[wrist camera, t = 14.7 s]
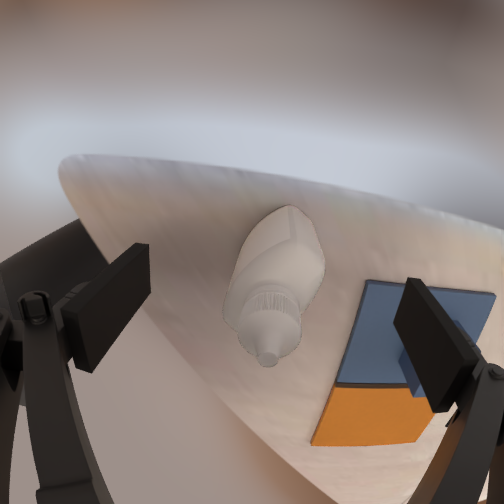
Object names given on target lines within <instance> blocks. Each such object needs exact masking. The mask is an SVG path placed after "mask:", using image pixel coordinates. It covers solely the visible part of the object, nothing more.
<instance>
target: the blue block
mask: <svg viewBox="0 0 504 504" xmlns="http://www.w3.org/2000/svg"><path fill="white" fill-rule="evenodd" d="M452 321H453V322H454V323H455V325H456V326H457V327H459V328H461V329H462V330H463V331H464V332H466V330H465V329H464V328H463V326H462V325H461V324H460V322H459V321H456V320H452ZM466 333H467V332H466ZM467 335H468V336H469V334H468V333H467ZM469 337H470V336H469ZM470 339H471V342H473V343H474V344H475V342H474V341H473V340H472V338H471V337H470ZM475 347H477V349H478V350H479V352H480V353H481V351H480V349H479V348H478V346H477V345H476V344H475ZM398 362H399V365H400V367H401V370H402V372H403V374H404V377H405V379H406V382H407V384H408V387H409V389H410V392H411V394H412V397H413V398H419V397H426V395H425V393H424V391H423V388H422V386H421V383H420V381H419V379H418V377H417V374H416V372H415V370H414V367H413V365H412V363H411V361H410V359H409V356H408V354H407V352H406V350H405V348H404V349H403V352H402V354H401V356H400V359H399V361H398Z"/></svg>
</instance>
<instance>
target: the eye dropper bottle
mask: <svg viewBox="0 0 504 504" xmlns="http://www.w3.org/2000/svg"><path fill="white" fill-rule="evenodd" d="M324 274H325V260H324V256H323V252H322V249H321V246H320V243H319V240H318V237H317V234H316V231H315V229H314V226H313V224H312V222H311V220H310V219H309V218H308V217H307V216H306V215H305V214H303V213H302V212H301V211H300V210H299V209H298V208H296V207H295V206H292V205H286V206H284V207H281V208H279V209H277V210H275V211H274V212H272V213H270V214H269V215H268V216H266V217H265V218H264V219H262V220H261V221H260V222H259V223H258V224H257V225H256V226H255V227H254V228H253V230H252V231H251V232H250V234H249V235H248V237H247V238H246V240H245V242H244V244H243V246H242V248H241V251H240V253H239V256H238V260H237V263H236V266H235V269H234V272H233V275H232V278H231V281H230V285H229V288H228V291H227V294H226V298H225V301H224V305H223V312H222V313H223V318H224V320H225V322H226V323H227V324H228V325H229V326H230V327H231V328H233V329H234V330H235V331H237V333H238V339H239V341H240V344H241V346H243V348H244V349H245V350H246V351H247V352H249V353H250V354H252V355H254V356H256V357H257V359H258V363H259V364H260V365H261V366H263V367H273V366H275V365H276V364H277V363H278V360H279V358H281V357H284V356H286V355H289V354H290V353H291V352H293V350H295V349H296V348H297V346H298V345H299V343H300V340H301V337H302V329H301V317H300V315H301V314H302V313H303V312H304V311H305V310H306V309H307V307H308V306H309V305H310V303H311V302H312V300H313V299H314V297H315V295H316V293H317V291H318V289H319V287H320V285H321V283H322V280H323V277H324Z"/></svg>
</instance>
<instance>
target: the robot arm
mask: <svg viewBox="0 0 504 504" xmlns="http://www.w3.org/2000/svg"><path fill="white" fill-rule="evenodd" d="M150 293H151V285H150V261H149V244H142V243H135V244H133V245H132V246H131V247H130V248H128V249H127V250H126V251H125V252H124V253H123V254H121V255H120V256H119V257H118V258H117V259H115V260H114V261H113V262H112V263H111V264H110V265H108V266H107V267H106V268H105V269H104V270H103V271H101V272H100V273H99V274H98V275H97V276H96V277H95V278H93V279H92V280H91V281H90V282H83V283H81V284H79V285H77V286H75V287H74V288H73V289H72V290H71V291H70V293H67V294H66V295H65V296H64V297H63V298H62V299H61V300H60V301H58V302H57V303H56V304H55V305H54V306H53V307H52V305H51V300H50V296H49V294H48V293H46V292H45V291H32V292H28V293H26V294H24V295H22V296H21V297H20V298H19V300H18V302H17V303H18V307H19V310H20V314H21V317H22V320H11V317H10V314H9V312H8V310H7V309H5V308H0V504H9V484H10V468H11V458H12V448H13V441H14V433H15V427H16V420H17V414H18V409H19V403H20V398H21V393H22V389H23V384H24V390H25V401H26V411H27V419H28V426H29V433H30V439H31V445H32V451H33V456H34V461H35V466H36V470H37V474H38V479H39V483H40V489H38V490H36V500H37V504H114V502H113V500H112V498H111V495H110V493H109V491H108V489H107V486H106V484H105V481H104V479H103V477H102V474H101V472H100V469H99V466H98V464H97V461H96V459H95V456H94V453H93V450H92V448H91V445H90V442H89V439H88V436H87V433H86V429H85V426H84V423H83V420H82V416H81V413H80V410H79V406H78V402H77V398H76V395H75V391H74V387H73V383H72V378H71V374H70V370H69V367H68V362H69V360H70V359H71V358H72V357H73V360H74V364H75V367H76V368H77V369H80V370H83V371H86V372H89V373H92V372H93V371H94V369H95V368H96V367H97V365H98V364H99V362H100V361H101V359H102V358H103V357H104V355H105V354H106V353H107V351H108V350H109V348H110V347H111V346H112V344H113V343H114V342H115V340H116V339H117V337H118V336H119V335H120V333H121V332H122V331H123V329H124V328H125V326H126V325H127V324H128V322H129V321H130V320H131V318H132V317H133V316H134V314H135V313H136V312H137V310H138V309H139V308H140V306H141V305H142V304H143V302H144V301H145V300H146V298H147V297H148V296H149V294H150ZM393 325H394V327H395V329H396V331H397V333H398V335H399V337H400V339H401V341H402V343H403V346H404V348H405V350H406V352H407V354H408V356H409V359H410V361H411V363H412V365H413V367H414V370H415V372H416V374H417V377H418V379H419V381H420V383H421V386H422V388H423V391H424V393H425V395H426V398H427V400H428V403H429V405H430V408H431V410H432V413H442V412H448V411H449V409H450V408H451V406H452V405H453V403H454V402H456V405H457V407H458V408H457V410H456V411H455V413H454V414H453V416H452V417H451V419H450V420H449V421H448V423H447V424H446V425H445V427H448V428H447V431H446V433H445V435H444V437H443V439H442V441H441V443H440V446H439V448H438V450H437V452H436V454H435V456H434V458H433V459H432V461H431V463H430V465H429V467H428V469H427V471H426V473H425V474H424V476H423V478H422V480H421V481H420V483H419V485H418V487H417V488H416V490H415V492H414V493H413V495H412V497H411V498H410V500H409V501H408V503H407V504H477V502H478V500H479V497H480V494H481V492H482V489H483V486H484V483H485V480H486V477H487V474H488V471H489V483H488V493H487V502H486V504H504V369H503V368H501V367H500V366H498V365H496V364H492V363H487V362H486V360H485V359H484V357H483V356H482V355H481V353H480V352H479V350H478V349H477V347H475V344H474V343H473V342H471V339H470V337H469V336H468V335H467V333H466V332H464V331H463V330H462V329H461V328H459V327H457V326H456V325H455V323H454V322H453V321H452V319H451V318H450V316H449V315H448V314H447V312H446V311H445V310H444V309H443V307H442V306H441V305H440V303H439V302H438V301H437V299H436V298H435V297H434V296H433V294H432V293H431V292H430V290H429V289H428V288H427V287H426V285H425V284H424V283H423V282H422V280H421V279H418V278H409V277H408V278H407V281H406V285H405V288H404V291H403V294H402V297H401V300H400V303H399V306H398V309H397V312H396V315H395V318H394V320H393ZM489 468H490V469H489Z"/></svg>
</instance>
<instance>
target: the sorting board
mask: <svg viewBox="0 0 504 504" xmlns="http://www.w3.org/2000/svg"><path fill="white" fill-rule="evenodd" d="M405 285H406V284H397V283H388V282H379V281H370V280H367V281H366V285H365V288H364V292H363V296H362V299H361V303H360V306H359V310H358V313H357V316H356V320H355V323H354V326H353V329H352V333H351V336H350V339H349V342H348V345H347V348H346V351H345V354H344V357H343V360H342V363H341V366H340V369H339V371H338V374H337V377H336V380H335V383H334V385H333V388H332V391H331V393H330V396H329V398H328V401H327V404H326V406H325V409H324V411H323V414H322V416H321V419H320V421H319V424H318V426H317V428H316V431H315V433H314V435H313V438H312V440H311V446H373V445H389V444H401V443H411V442H416V440H417V439H418V438H419V436H420V435H421V434H422V432H423V431H424V429H425V428H426V427H427V425H428V424H429V422H430V421H431V419H432V418H433V416H434V415H435V413H432V410H431V408H430V405H429V403H428V400H427V398H426V397H419V398H413V397H412V394H411V392H410V389H409V387H408V384H407V382H406V379H405V377H404V374H403V372H402V370H401V367H400V365H399V362H398V361H399V359H400V356H401V354H402V352H403V349H404V346H403V343H402V341H401V339H400V337H399V335H398V333H397V331H396V329H395V327H394V325H393V320H394V318H395V315H396V312H397V309H398V306H399V303H400V300H401V297H402V294H403V291H404V288H405ZM427 288H428V289H429V290H430V292H431V293H432V294H433V296H434V297H435V298H436V299H437V301H438V302H439V303H440V305H441V306H442V307H443V309H444V310H445V311H446V312H447V314H448V315H449V316H450V318H451V319H452V320H456V321H459V322H460V324H461V325H462V326H463V328H464V329H465V330H466V332H467V333H468V334H469V336H470V337H471V338H472V340H473V341H474V342H475V344H476V342H477V340H478V338H479V336H480V334H481V332H482V330H483V327H484V325H485V323H486V321H487V318H488V316H489V314H490V311H491V309H492V307H493V304H494V302H495V299H496V297H497V296H496V295H495V294H494V293H485V292H475V291H465V290H455V289H445V288H435V287H427Z"/></svg>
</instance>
